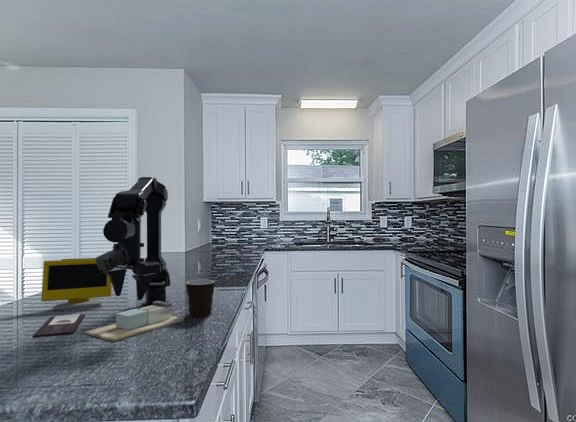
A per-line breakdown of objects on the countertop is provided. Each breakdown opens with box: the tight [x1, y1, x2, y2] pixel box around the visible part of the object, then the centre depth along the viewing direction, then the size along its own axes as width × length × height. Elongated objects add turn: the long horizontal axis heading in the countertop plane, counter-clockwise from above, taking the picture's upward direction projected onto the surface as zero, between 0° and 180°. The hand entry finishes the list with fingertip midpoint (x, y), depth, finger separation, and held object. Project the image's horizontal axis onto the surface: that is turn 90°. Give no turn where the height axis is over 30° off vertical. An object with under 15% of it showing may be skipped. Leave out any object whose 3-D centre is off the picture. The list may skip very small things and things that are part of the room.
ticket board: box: [85, 301, 185, 343], centre depth 104 cm, size 12×22×5 cm, turn 149°
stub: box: [115, 308, 147, 330], centre depth 102 cm, size 5×6×4 cm
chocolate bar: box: [32, 313, 86, 338], centre depth 104 cm, size 9×1×18 cm
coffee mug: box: [185, 279, 216, 318], centre depth 118 cm, size 12×9×10 cm
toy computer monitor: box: [40, 257, 113, 311], centre depth 127 cm, size 20×8×16 cm, turn 114°
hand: (128, 297), depth 102 cm, fingers open, 9 cm apart
